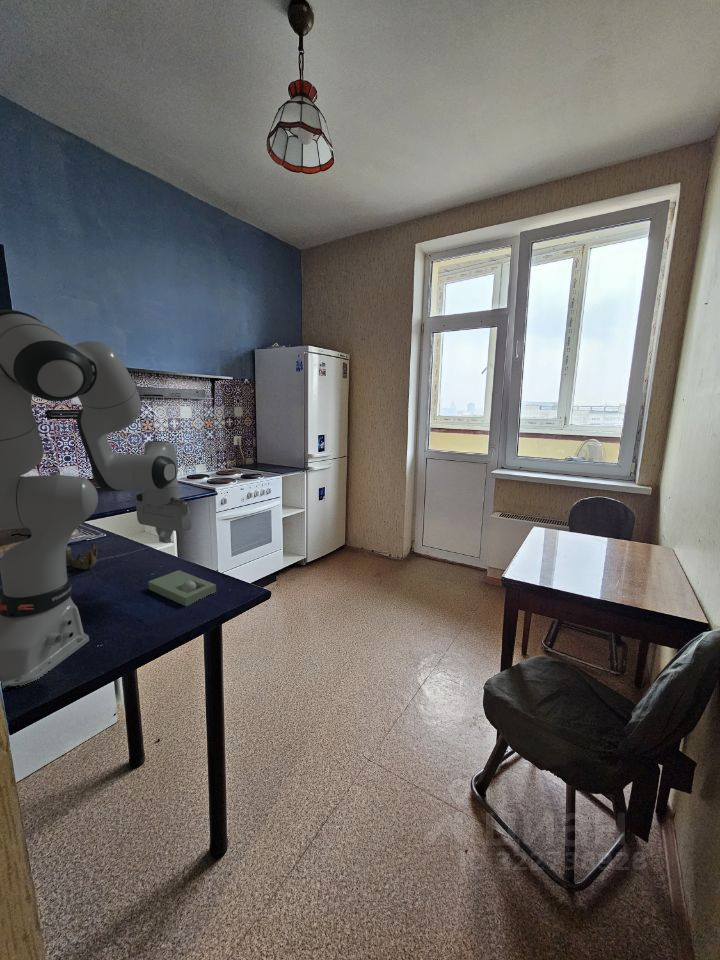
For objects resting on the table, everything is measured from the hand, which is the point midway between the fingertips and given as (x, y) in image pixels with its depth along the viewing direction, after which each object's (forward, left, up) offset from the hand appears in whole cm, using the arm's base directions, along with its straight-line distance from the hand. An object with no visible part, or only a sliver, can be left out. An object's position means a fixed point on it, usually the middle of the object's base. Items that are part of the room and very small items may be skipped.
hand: (165, 542), depth 115 cm
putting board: (-3, -5, -14) cm, 16 cm away
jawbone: (+16, +32, -15) cm, 39 cm away
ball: (-5, -8, -12) cm, 15 cm away
